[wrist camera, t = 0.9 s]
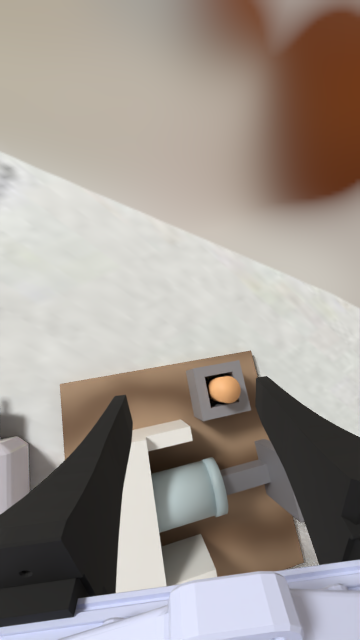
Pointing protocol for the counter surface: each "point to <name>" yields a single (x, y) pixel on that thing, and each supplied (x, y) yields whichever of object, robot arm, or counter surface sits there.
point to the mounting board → (196, 458)
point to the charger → (13, 471)
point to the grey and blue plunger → (218, 487)
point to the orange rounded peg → (223, 389)
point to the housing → (139, 504)
